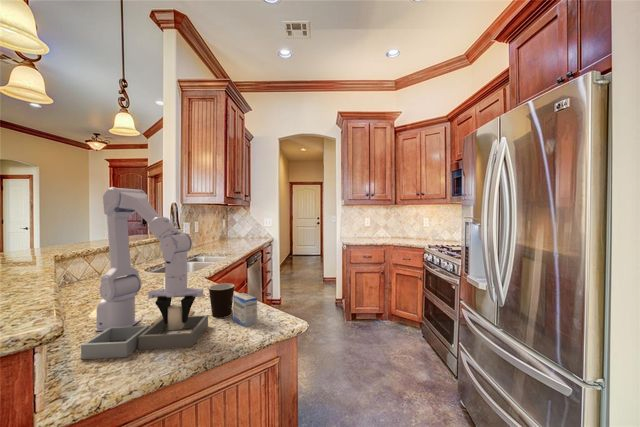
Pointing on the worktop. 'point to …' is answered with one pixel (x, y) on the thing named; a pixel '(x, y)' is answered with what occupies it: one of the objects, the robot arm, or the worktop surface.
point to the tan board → (162, 316)
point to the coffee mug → (221, 299)
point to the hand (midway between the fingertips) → (176, 321)
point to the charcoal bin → (181, 340)
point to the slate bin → (106, 349)
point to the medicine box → (245, 309)
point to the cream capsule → (175, 317)
